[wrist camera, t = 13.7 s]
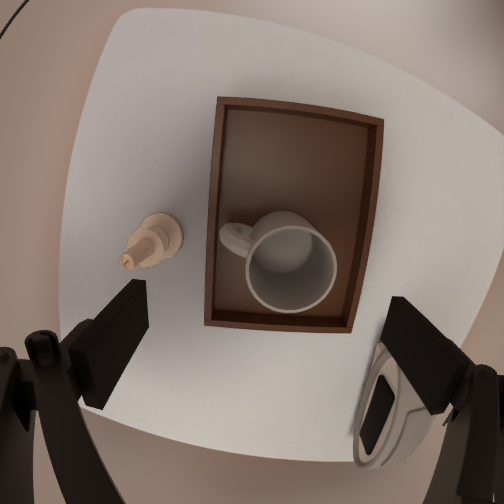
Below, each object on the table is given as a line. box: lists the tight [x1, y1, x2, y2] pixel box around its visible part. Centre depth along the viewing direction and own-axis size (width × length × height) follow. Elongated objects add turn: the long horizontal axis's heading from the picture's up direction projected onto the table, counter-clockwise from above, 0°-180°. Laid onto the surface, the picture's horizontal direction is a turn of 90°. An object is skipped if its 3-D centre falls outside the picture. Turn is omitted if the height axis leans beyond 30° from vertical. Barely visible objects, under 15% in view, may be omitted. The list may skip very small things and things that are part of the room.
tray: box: [204, 97, 384, 333], centre depth 30 cm, size 24×17×3 cm
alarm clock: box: [353, 342, 436, 471], centre depth 32 cm, size 23×6×13 cm, turn 0°
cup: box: [220, 211, 337, 313], centre depth 27 cm, size 7×10×9 cm
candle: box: [120, 213, 183, 271], centre depth 27 cm, size 5×5×10 cm
